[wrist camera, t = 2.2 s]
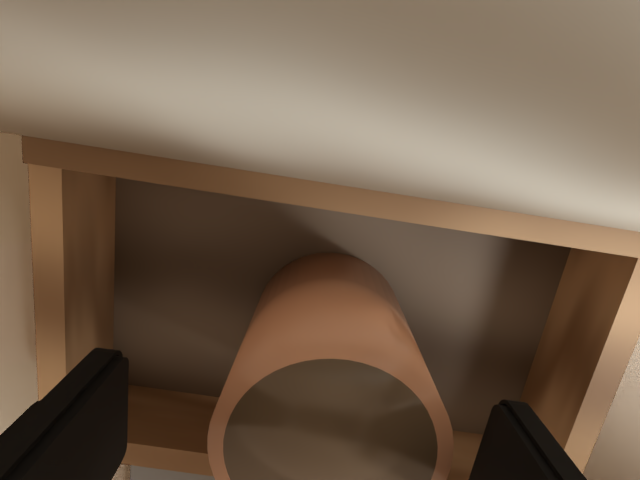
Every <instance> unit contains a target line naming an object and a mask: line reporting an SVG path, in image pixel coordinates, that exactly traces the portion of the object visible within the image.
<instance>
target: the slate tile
mask: <svg viewBox="0 0 640 480" xmlns="http://www.w3.org/2000/svg"><path fill="white" fill-rule="evenodd" d="M130 480H215V478H214V476H207V475H199V474H192V473H185V472H177V471H170V470H162V469H155V468H148V467H140V466H133V465H131V469H130Z"/></svg>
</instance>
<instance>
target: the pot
mask: <svg viewBox="0 0 640 480" xmlns="http://www.w3.org/2000/svg"><path fill="white" fill-rule="evenodd" d="M453 449H454V440H453V431H452V426H451V423H450V419H449V416H448V414H447V411H446V409H445V407H444V404H443V402H442V400H441V398H440V395H439V393H438V391H437V389H436V386H435V384H434V382H433V380H432V377H431V375H430V373H429V371H428V368H427V366H426V364H425V362H424V359H423V357H422V355H421V352H420V350H419V348H418V346H417V343H416V341H415V339H414V337H413V334H412V332H411V330H410V328H409V325H408V323H407V321H406V319H405V316H404V314H403V312H402V310H401V307H400V305H399V303H398V300H397V298H396V296H395V294H394V291H393V289H392V288H391V286H390V284H389V283H388V281H387V280H386V279H385V278H384V277H383V275H382V274H381V273H379V272H378V271H377V270H376V269H375V268H374V267H372V266H371V265H369V264H368V263H366V262H364V261H362V260H360V259H358V258H355V257H352V256H349V255H345V254H340V253H317V254H311V255H308V256H304V257H301V258H299V259H297V260H294V261H292V262H291V263H289V264H287V265H286V266H284V267H283V268H282V269H281V270H279V271H278V272H277V273H276V274H275V275H274V276H273V277H272V278H271V280H270V281H269V283H268V284H267V285H266V287H265V289H264V291H263V293H262V295H261V297H260V300H259V302H258V305H257V307H256V310H255V312H254V314H253V317H252V319H251V322H250V324H249V327H248V329H247V331H246V334H245V336H244V339H243V341H242V344H241V346H240V348H239V351H238V353H237V356H236V358H235V361H234V363H233V365H232V368H231V370H230V373H229V375H228V378H227V380H226V383H225V385H224V387H223V390H222V392H221V395H220V397H219V400H218V402H217V404H216V407H215V409H214V412H213V415H212V418H211V421H210V425H209V430H208V436H207V451H208V458H209V463H210V467H211V470H212V473H213V476H214V478H215V480H447V477H448V474H449V472H450V469H451V464H452V459H453Z"/></svg>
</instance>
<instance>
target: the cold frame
mask: <svg viewBox="0 0 640 480" xmlns="http://www.w3.org/2000/svg"><path fill="white" fill-rule="evenodd" d="M0 132H4V133H10V134H16V135H22V154H23V163H27V164H28V173H29V196H30V219H31V242H32V265H33V288H34V311H35V334H36V357H37V380H38V401H40V400H41V399H43V398H44V397H45V396H46V395H47V394H48V393H49V392H50V391H51V390H52V389H53V388H54V387H55V386H56V385H57V384H58V383H59V382H60V381H61V380H62V379H63V378H64V377H65V376H66V375H67V374H68V373H69V372H70V371H71V370H72V369H73V368H74V367H75V366H76V365H77V364H78V363H79V362H80V361H81V360H82V359H84V358H85V357H86V356H87V355H88V354H89V353H90V352H91V351H92V350H93V349H94V348H105V349H113V350H120V351H121V352H122V354H123V357H127V358H128V360H129V379H128V431H127V449H126V453H125V456H124V458H123V460H122V462H121V464H126V465H133V466H140V467H148V468H155V469H162V470H170V471H177V472H185V473H192V474H199V475H207V476H213V473H212V470H211V467H210V463H209V458H208V451H207V436H208V430H209V425H210V421H211V418H212V415H213V412H214V409H215V407H216V404H217V402H218V400H219V397H220V395H221V392H222V390H223V387H224V385H225V383H226V380H227V378H228V375H229V373H230V370H231V368H232V365H233V363H234V361H235V358H236V356H237V353H238V351H239V348H240V346H241V344H242V341H243V339H244V336H245V334H246V331H247V329H248V327H249V324H250V322H251V319H252V317H253V314H254V312H255V310H256V307H257V305H258V302H259V300H260V297H261V295H262V293H263V291H264V289H265V287H266V285H267V284H268V283H269V281H270V280H271V278H272V277H273V276H274V275H275V274H276V273H277V272H278V271H279V270H281V269H282V268H283V267H284V266H286V265H287V264H289V263H291V262H292V261H294V260H297V259H299V258H301V257H304V256H308V255H311V254H317V253H340V254H345V255H349V256H352V257H355V258H358V259H360V260H362V261H364V262H366V263H368V264H369V265H371V266H372V267H374V268H375V269H376V270H377V271H378V272H379V273H381V274H382V275H383V277H384V278H385V279H386V280H387V281H388V283H389V284H390V286H391V288H392V289H393V291H394V294H395V296H396V298H397V300H398V303H399V305H400V307H401V310H402V312H403V314H404V316H405V319H406V321H407V323H408V325H409V328H410V330H411V332H412V334H413V337H414V339H415V341H416V343H417V346H418V348H419V350H420V352H421V355H422V357H423V359H424V362H425V364H426V366H427V368H428V371H429V373H430V375H431V377H432V380H433V382H434V384H435V386H436V389H437V391H438V393H439V395H440V398H441V400H442V402H443V404H444V407H445V409H446V411H447V414H448V416H449V419H450V423H451V426H452V431H453V440H454V449H453V459H452V464H451V469H450V472H449V474H448V477H447V480H468V479H469V476H470V473H471V470H472V467H473V464H474V461H475V458H476V455H477V452H478V449H479V446H480V443H481V440H482V437H483V434H484V431H485V428H486V425H487V422H488V419H489V416H490V412H491V409H492V407H493V406H494V405H496V404H497V405H498V403H499V402H500V401H501V400H504V399H505V400H512V401H520V402H525V403H527V404H528V405H529V406H530V407H531V408H532V409H533V411H534V412H535V413H536V415H537V416H538V417H539V419H540V420H541V421H542V422H543V424H544V425H545V426H546V428H547V429H548V430H549V431H550V433H551V434H552V435H553V437H554V438H555V439H556V440H557V442H558V443H559V444H560V446H561V447H562V448H563V449H564V451H565V452H566V453H567V455H568V456H569V457H570V459H571V460H572V461H573V462H574V464H575V465H576V466H577V468H578V469H579V470H580V471H581V473H582V474H583V471H584V469H585V467H586V464H587V462H588V459H589V457H590V454H591V452H592V450H593V447H594V445H595V442H596V440H597V437H598V435H599V433H600V430H601V428H602V425H603V423H604V420H605V418H606V416H607V413H608V411H609V408H610V406H611V403H612V401H613V399H614V396H615V394H616V391H617V389H618V386H619V384H620V382H621V379H622V377H623V374H624V372H625V369H626V367H627V365H628V362H629V360H630V357H631V355H632V352H633V350H634V348H635V345H636V343H637V340H638V338H639V335H640V0H0Z"/></svg>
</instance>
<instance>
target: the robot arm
mask: <svg viewBox="0 0 640 480" xmlns="http://www.w3.org/2000/svg"><path fill="white" fill-rule="evenodd" d="M128 379H129V360H128V358H127V357H123V354H122V352H121V351H120V350H113V349H105V348H94V349H93V350H92V351H91V352H90V353H89V354H88V355H87V356H86V357H85V358H84V359H82V360H81V361H80V362H79V363H78V364H77V365H76V366H75V367H74V368H73V369H72V370H71V371H70V372H69V373H68V374H67V375H66V376H65V377H64V378H63V379H62V380H61V381H60V382H59V383H58V384H57V385H56V386H55V387H54V388H53V389H52V390H51V391H50V392H49V393H48V394H47V395H46V396H45V397H44V398H43V399H41V400H40V401H37V402H36V403H34V404H33V405H32V406H30V407H29V408H28V409H27V410H26V411H25V412H24V413H23V414H22V415H21V416H20V417H19V418H18V419H17V420H16V421H15V422H14V423H13V424H12V425H11V426H10V427H8V428H7V429H6V430H5V431H4V432H3V433H2V434H1V435H0V480H111V479H112V478H113V476H114V474H115V473H116V471H117V469H118V467H119V466H120V464H121V462H122V460H123V458H124V456H125V453H126V449H127V431H128ZM468 480H587V479H586V478H585V477H584V475H583V474H582V473H581V471H580V470H579V469H578V468H577V466H576V465H575V464H574V462H573V461H572V460H571V459H570V457H569V456H568V455H567V453H566V452H565V451H564V449H563V448H562V447H561V446H560V444H559V443H558V442H557V440H556V439H555V438H554V437H553V435H552V434H551V433H550V431H549V430H548V429H547V428H546V426H545V425H544V424H543V422H542V421H541V420H540V419H539V417H538V416H537V415H536V413H535V412H534V411H533V409H532V408H531V407H530V406H529V405H528V404H527V403H525V402H520V401H512V400H505V399H504V400H501V401H500V402H499V403H498V405H497V404H496V405H494V406H493V407H492V409H491V412H490V416H489V419H488V422H487V425H486V428H485V431H484V434H483V437H482V440H481V443H480V446H479V449H478V452H477V455H476V458H475V461H474V464H473V467H472V470H471V473H470V476H469V479H468Z"/></svg>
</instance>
